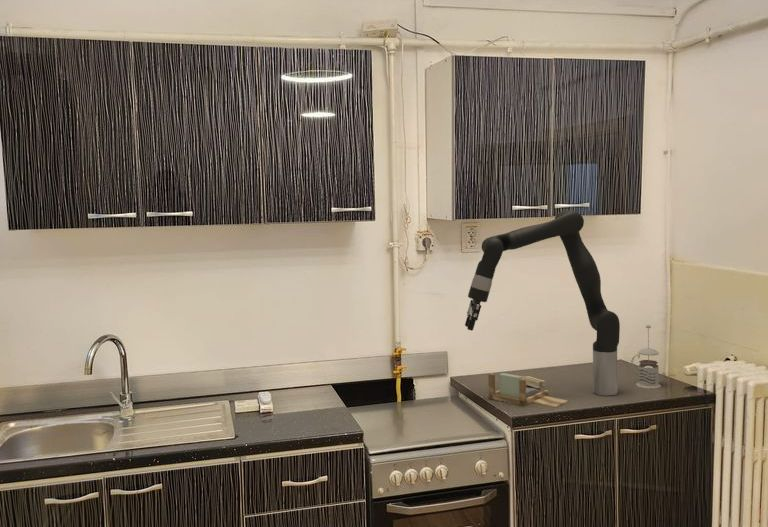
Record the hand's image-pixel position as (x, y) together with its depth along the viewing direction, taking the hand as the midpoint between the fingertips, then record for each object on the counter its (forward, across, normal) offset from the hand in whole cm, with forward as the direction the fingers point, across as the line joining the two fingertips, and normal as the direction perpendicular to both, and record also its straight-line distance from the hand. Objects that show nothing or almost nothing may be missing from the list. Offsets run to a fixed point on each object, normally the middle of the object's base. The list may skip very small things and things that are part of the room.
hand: (468, 328), depth 270 cm
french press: (+5, +17, -79) cm, 81 cm away
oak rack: (+22, +6, -28) cm, 36 cm away
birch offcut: (+16, +10, -32) cm, 37 cm away
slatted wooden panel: (+19, -3, -38) cm, 42 cm away
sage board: (+23, +2, -24) cm, 33 cm away
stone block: (+21, +10, -32) cm, 39 cm away
